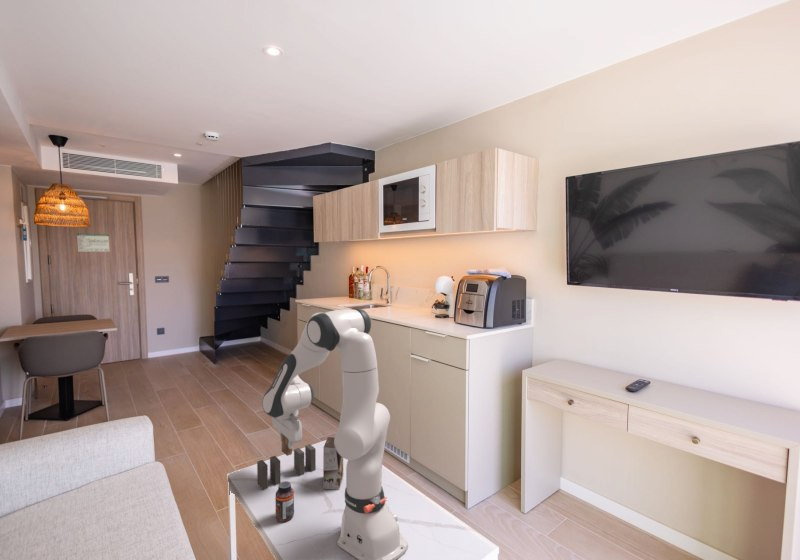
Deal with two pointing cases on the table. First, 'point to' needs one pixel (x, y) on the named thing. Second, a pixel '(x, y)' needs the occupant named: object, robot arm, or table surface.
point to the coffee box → (332, 466)
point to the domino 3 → (285, 446)
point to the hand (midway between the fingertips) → (286, 444)
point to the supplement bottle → (284, 502)
